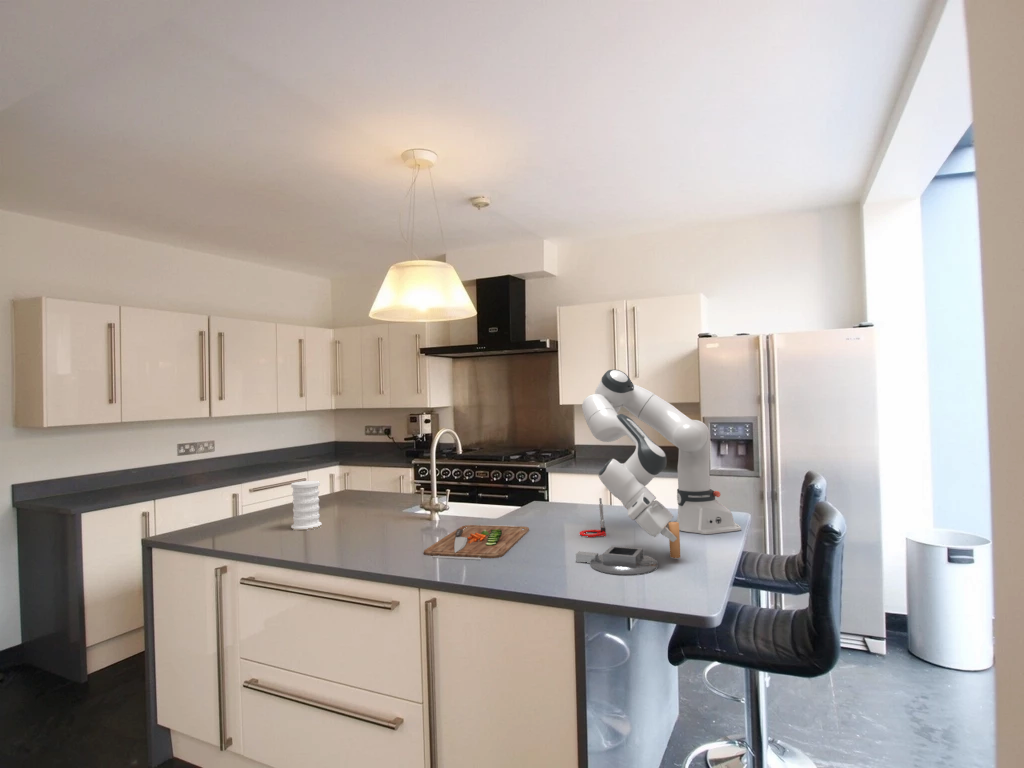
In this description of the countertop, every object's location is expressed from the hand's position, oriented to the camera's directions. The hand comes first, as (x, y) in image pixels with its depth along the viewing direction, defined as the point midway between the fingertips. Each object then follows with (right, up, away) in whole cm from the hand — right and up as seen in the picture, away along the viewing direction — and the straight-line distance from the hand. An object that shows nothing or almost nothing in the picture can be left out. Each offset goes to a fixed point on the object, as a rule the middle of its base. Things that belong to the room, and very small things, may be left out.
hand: (676, 538), depth 171 cm
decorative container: (-131, -12, +62) cm, 145 cm away
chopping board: (-60, -10, +31) cm, 68 cm away
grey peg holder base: (-18, -7, -2) cm, 20 cm away
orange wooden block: (0, -5, 0) cm, 5 cm away
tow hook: (-20, -8, +35) cm, 41 cm away
